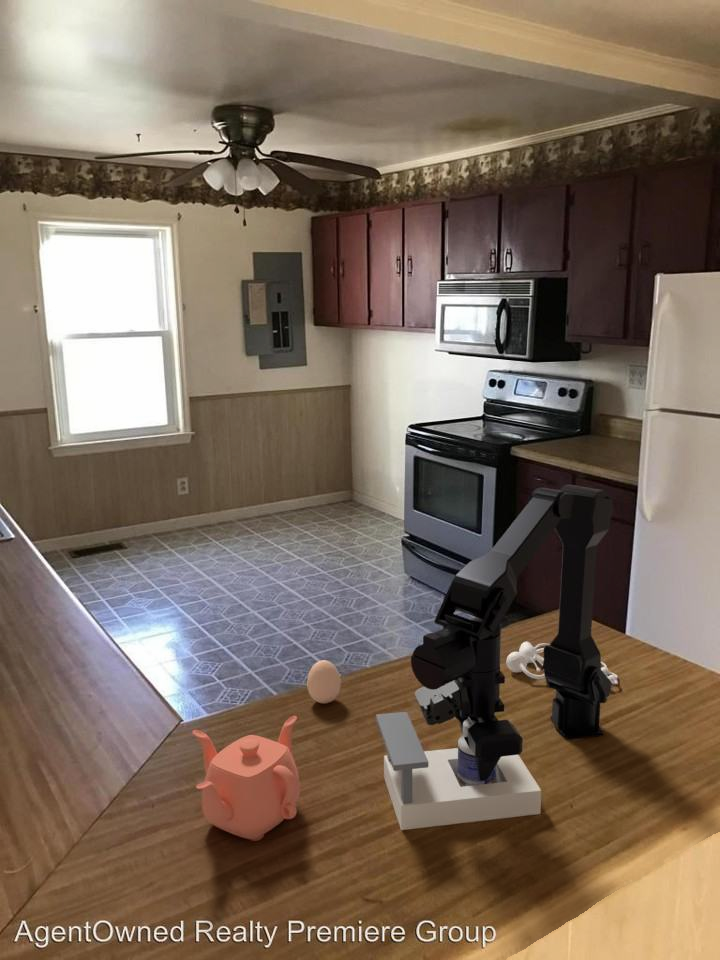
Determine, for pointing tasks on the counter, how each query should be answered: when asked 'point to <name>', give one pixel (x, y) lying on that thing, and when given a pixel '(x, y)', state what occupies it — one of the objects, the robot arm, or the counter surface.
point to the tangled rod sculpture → (530, 655)
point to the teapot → (250, 783)
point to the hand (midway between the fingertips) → (477, 767)
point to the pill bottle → (469, 762)
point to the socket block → (448, 782)
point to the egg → (323, 682)
